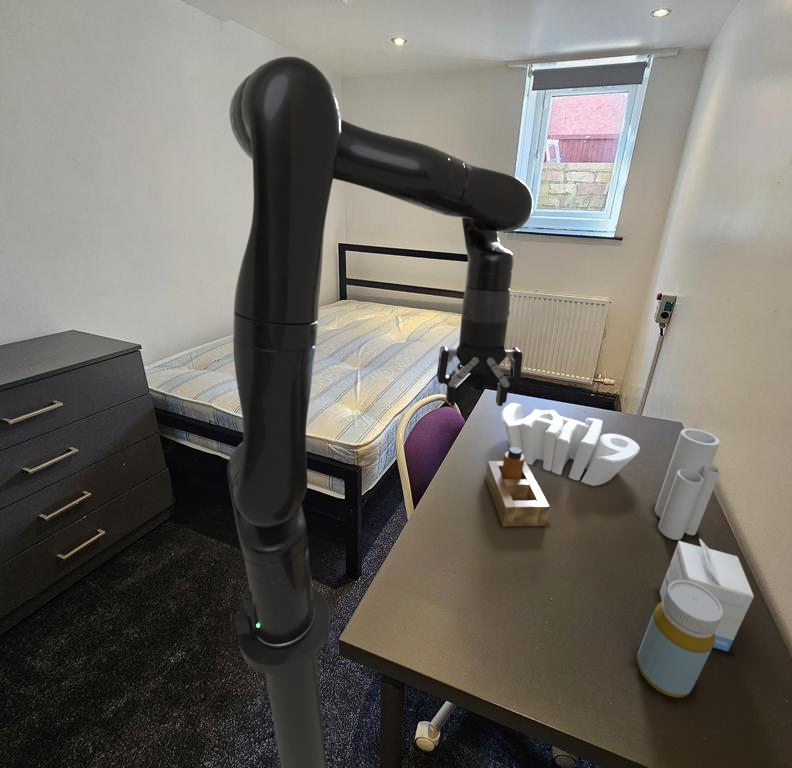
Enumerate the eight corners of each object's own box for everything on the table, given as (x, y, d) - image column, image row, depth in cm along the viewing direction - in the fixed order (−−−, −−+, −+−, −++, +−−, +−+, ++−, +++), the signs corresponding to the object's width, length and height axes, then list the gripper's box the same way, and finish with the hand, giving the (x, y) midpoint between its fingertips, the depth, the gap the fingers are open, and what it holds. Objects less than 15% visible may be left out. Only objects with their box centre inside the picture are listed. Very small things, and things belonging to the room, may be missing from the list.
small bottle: (502, 496, 94) (508, 455, 90) (497, 484, 98) (503, 444, 94) (521, 496, 94) (528, 455, 90) (515, 484, 98) (522, 444, 94)
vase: (652, 502, 94) (677, 425, 86) (688, 510, 92) (717, 432, 84) (660, 536, 84) (689, 453, 76) (700, 546, 82) (735, 462, 74)
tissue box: (729, 654, 62) (762, 590, 57) (666, 633, 65) (692, 570, 59) (714, 607, 69) (742, 546, 64) (658, 590, 72) (680, 530, 67)
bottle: (626, 649, 62) (653, 577, 56) (671, 648, 62) (702, 576, 56) (652, 700, 55) (685, 625, 50) (702, 699, 56) (741, 624, 50)
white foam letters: (485, 448, 112) (489, 414, 108) (509, 425, 125) (514, 393, 121) (622, 500, 94) (633, 461, 90) (635, 467, 107) (645, 432, 103)
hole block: (502, 526, 85) (505, 507, 83) (485, 478, 100) (487, 460, 98) (546, 525, 86) (550, 506, 84) (522, 477, 101) (525, 460, 99)
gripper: (520, 310, 71) (508, 395, 77) (438, 308, 70) (433, 395, 76) (534, 322, 64) (520, 414, 71) (444, 320, 63) (438, 413, 70)
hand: (475, 404), depth 73 cm, fingers open, 8 cm apart
